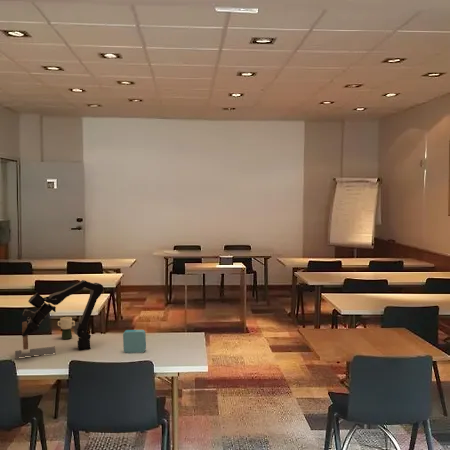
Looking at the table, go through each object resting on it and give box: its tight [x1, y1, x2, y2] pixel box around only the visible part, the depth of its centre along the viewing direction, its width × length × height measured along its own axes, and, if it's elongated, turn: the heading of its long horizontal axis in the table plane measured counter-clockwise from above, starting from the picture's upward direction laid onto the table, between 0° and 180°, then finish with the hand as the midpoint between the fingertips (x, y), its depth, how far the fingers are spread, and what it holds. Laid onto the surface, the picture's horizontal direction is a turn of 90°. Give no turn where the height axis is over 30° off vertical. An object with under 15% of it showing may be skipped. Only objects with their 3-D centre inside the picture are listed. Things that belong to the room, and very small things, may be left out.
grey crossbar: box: [14, 346, 56, 358], centre depth 302 cm, size 21×2×4 cm, turn 110°
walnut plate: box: [21, 320, 29, 351], centre depth 300 cm, size 2×7×14 cm, turn 20°
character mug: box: [57, 316, 76, 340], centre depth 339 cm, size 11×7×13 cm, turn 87°
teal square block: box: [122, 329, 147, 354], centre depth 306 cm, size 12×4×12 cm, turn 89°
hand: (22, 334), depth 300 cm, fingers closed on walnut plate, 7 cm apart
